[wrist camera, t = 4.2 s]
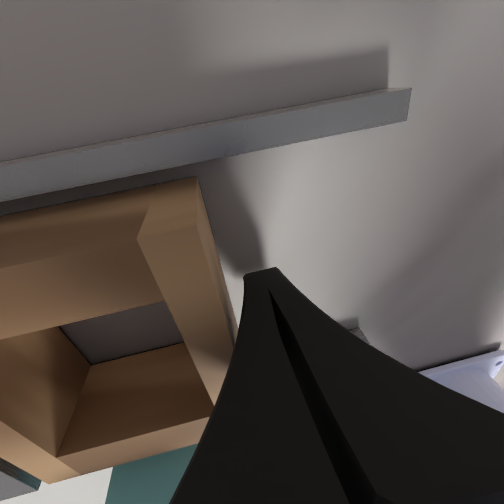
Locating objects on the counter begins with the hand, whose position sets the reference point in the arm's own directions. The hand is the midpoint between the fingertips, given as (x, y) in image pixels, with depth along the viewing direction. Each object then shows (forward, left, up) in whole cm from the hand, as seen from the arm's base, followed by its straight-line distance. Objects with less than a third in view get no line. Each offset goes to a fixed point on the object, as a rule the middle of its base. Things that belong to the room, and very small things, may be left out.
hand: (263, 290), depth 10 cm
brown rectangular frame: (0, +5, -1) cm, 5 cm away
